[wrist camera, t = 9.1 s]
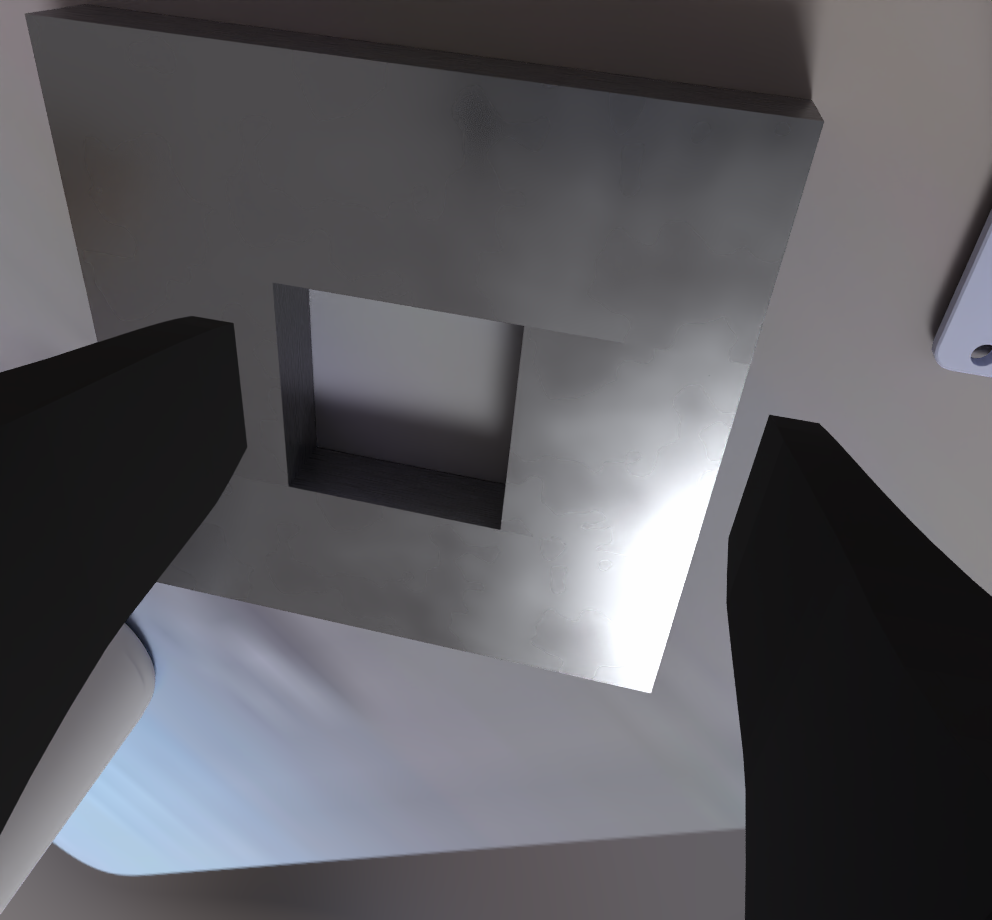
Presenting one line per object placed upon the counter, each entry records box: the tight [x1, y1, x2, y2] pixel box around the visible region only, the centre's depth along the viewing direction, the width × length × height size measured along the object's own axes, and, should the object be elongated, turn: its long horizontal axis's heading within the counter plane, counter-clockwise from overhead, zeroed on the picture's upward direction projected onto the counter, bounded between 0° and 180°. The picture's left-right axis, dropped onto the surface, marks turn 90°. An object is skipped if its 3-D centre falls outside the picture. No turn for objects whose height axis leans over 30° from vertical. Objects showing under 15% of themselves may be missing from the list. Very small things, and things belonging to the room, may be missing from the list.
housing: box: [25, 4, 824, 693], centre depth 21 cm, size 16×16×2 cm
